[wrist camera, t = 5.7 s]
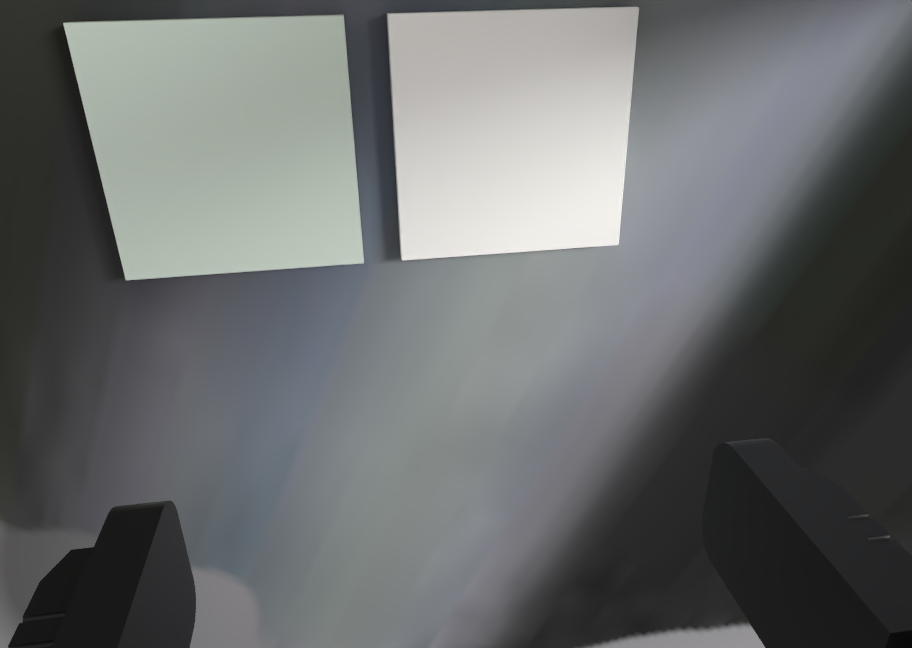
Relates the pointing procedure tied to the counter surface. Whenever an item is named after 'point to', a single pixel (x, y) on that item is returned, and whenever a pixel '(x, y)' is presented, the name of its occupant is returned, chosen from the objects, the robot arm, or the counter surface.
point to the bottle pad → (222, 141)
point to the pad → (510, 128)
